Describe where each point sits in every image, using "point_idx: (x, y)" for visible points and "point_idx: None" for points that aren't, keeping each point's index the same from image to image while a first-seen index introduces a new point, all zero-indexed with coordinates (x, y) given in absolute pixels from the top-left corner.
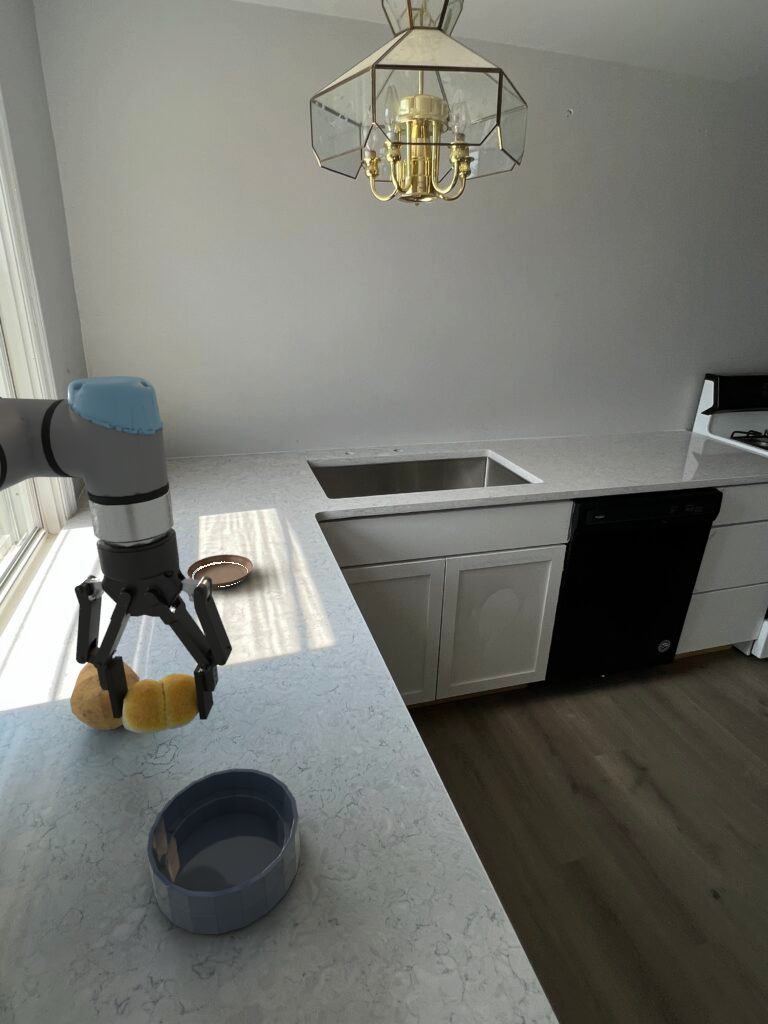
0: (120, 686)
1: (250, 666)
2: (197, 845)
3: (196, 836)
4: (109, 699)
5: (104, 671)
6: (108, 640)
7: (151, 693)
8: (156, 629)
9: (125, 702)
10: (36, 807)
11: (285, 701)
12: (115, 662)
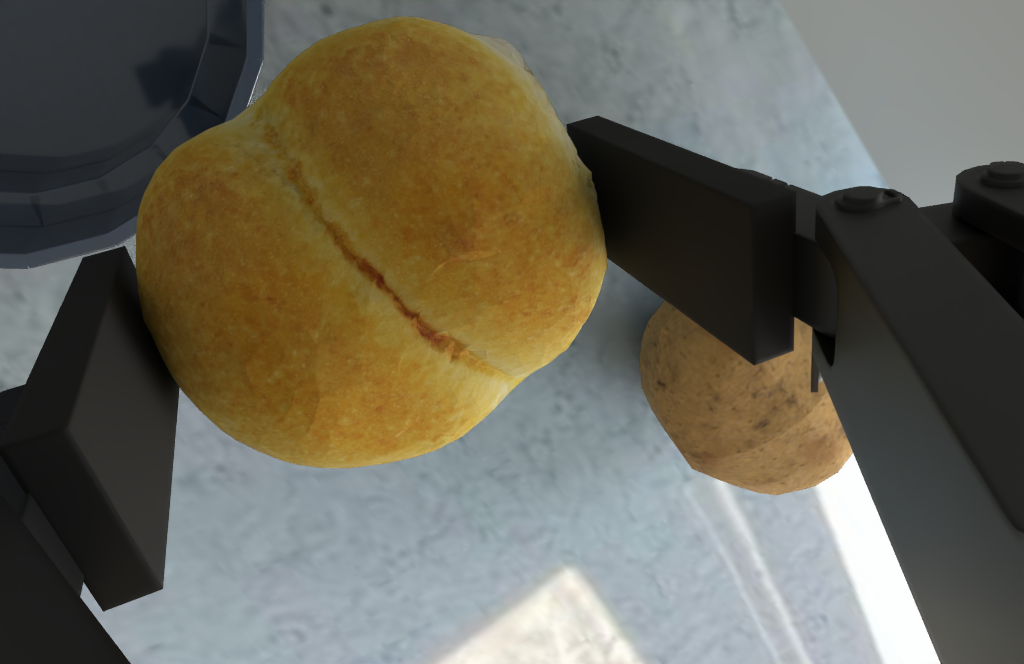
0: (650, 224)
1: (434, 640)
2: (149, 3)
3: (178, 35)
4: (721, 350)
5: (790, 189)
6: (965, 333)
7: (423, 222)
8: (748, 625)
9: (559, 142)
10: (712, 21)
11: (247, 584)
12: (764, 296)
